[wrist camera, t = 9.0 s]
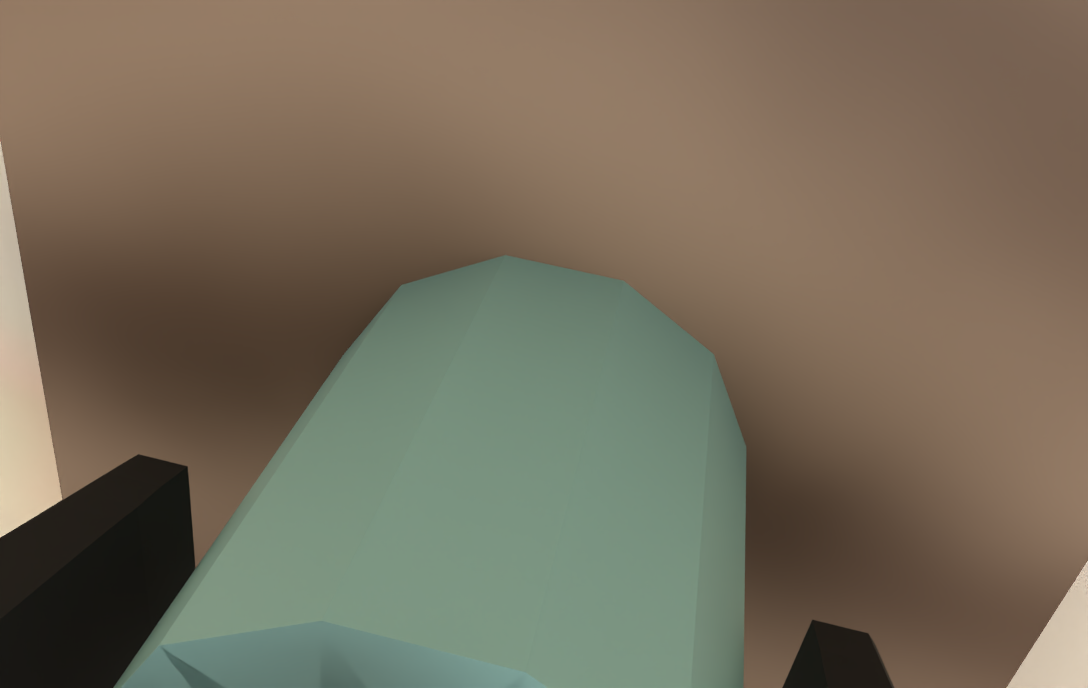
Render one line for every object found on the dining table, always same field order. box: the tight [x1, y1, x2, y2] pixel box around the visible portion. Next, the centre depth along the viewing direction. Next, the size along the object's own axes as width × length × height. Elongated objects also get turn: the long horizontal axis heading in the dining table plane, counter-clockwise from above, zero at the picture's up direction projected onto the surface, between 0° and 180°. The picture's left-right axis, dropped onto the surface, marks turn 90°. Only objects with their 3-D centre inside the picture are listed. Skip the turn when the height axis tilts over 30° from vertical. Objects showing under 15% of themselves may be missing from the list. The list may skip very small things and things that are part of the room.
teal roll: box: [113, 255, 746, 688], centre depth 11 cm, size 6×6×6 cm
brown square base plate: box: [0, 0, 1088, 688], centre depth 11 cm, size 15×15×6 cm
